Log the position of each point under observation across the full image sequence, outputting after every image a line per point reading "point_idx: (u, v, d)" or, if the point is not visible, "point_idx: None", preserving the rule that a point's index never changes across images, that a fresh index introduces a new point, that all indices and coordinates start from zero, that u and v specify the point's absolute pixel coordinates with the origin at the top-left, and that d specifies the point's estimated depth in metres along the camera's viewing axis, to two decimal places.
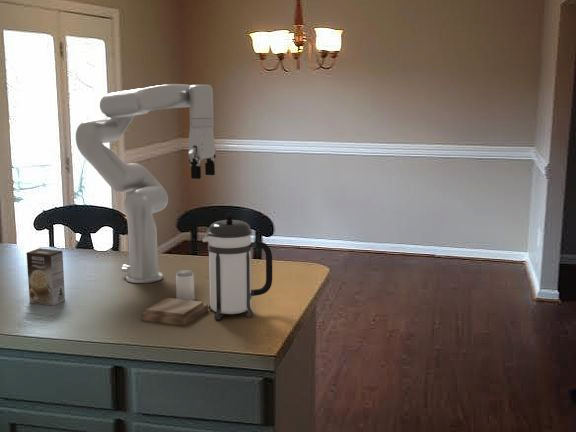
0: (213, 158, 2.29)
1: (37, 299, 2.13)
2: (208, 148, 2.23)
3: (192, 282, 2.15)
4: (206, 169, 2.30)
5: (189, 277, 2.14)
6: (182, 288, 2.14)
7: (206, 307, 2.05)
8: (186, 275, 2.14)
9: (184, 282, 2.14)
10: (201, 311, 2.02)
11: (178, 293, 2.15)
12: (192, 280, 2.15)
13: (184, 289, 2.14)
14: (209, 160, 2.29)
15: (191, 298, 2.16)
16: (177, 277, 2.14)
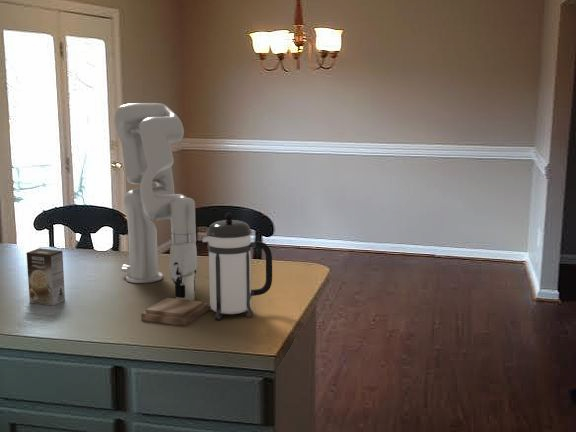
0: None
1: (37, 299, 2.13)
2: (190, 263, 2.14)
3: (192, 282, 2.15)
4: None
5: (189, 277, 2.14)
6: None
7: (206, 307, 2.05)
8: (186, 275, 2.14)
9: (184, 282, 2.14)
10: (201, 311, 2.02)
11: None
12: (192, 280, 2.15)
13: None
14: None
15: (191, 298, 2.16)
16: None
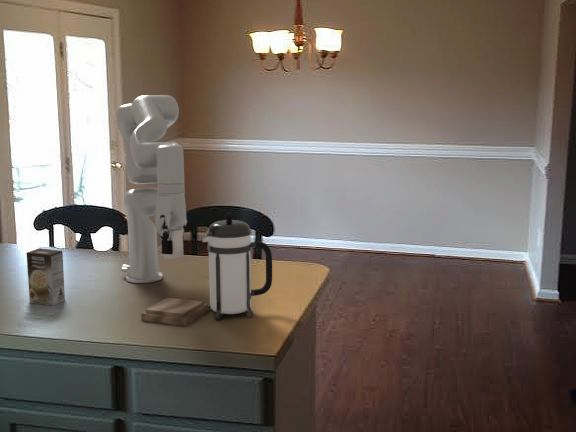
0: None
1: (37, 299, 2.13)
2: (178, 217, 1.95)
3: (181, 237, 1.97)
4: None
5: (177, 232, 1.95)
6: None
7: (206, 307, 2.05)
8: (174, 229, 1.95)
9: (172, 237, 1.95)
10: (201, 311, 2.02)
11: None
12: (181, 235, 1.96)
13: None
14: None
15: (180, 255, 1.97)
16: None
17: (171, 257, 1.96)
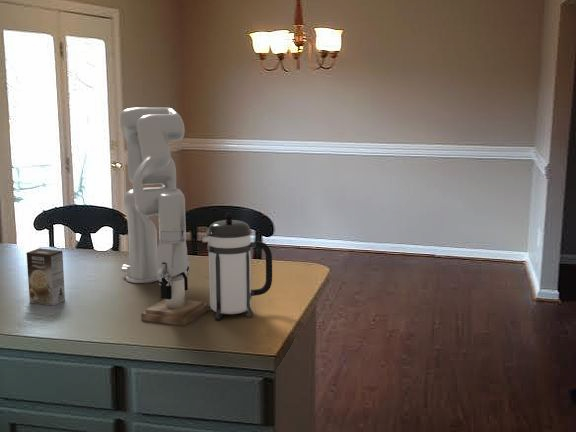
0: (186, 272, 2.04)
1: (37, 299, 2.13)
2: (180, 263, 1.98)
3: (182, 287, 1.99)
4: None
5: (179, 282, 1.98)
6: None
7: (206, 307, 2.05)
8: (176, 279, 1.98)
9: (174, 287, 1.98)
10: (201, 311, 2.02)
11: (167, 299, 1.99)
12: (182, 285, 1.99)
13: (173, 294, 1.98)
14: (181, 273, 2.04)
15: (181, 304, 2.00)
16: None
17: (173, 306, 1.99)
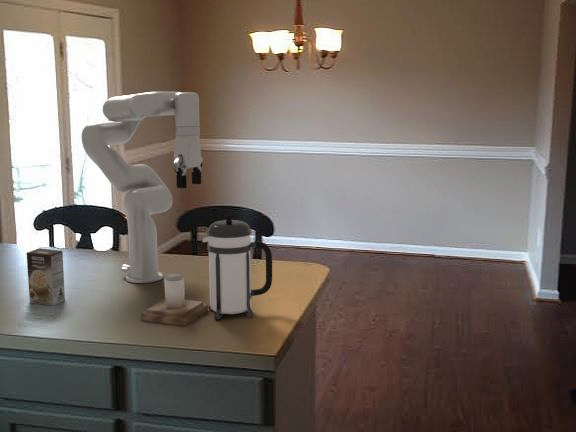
0: (200, 167, 2.25)
1: (37, 299, 2.13)
2: (194, 157, 2.19)
3: (182, 287, 1.99)
4: (192, 178, 2.26)
5: (178, 282, 1.98)
6: (171, 293, 1.98)
7: (206, 307, 2.05)
8: (175, 279, 1.98)
9: (173, 287, 1.98)
10: (201, 311, 2.02)
11: (167, 299, 1.99)
12: (182, 285, 1.99)
13: (173, 294, 1.98)
14: (196, 169, 2.25)
15: (181, 304, 2.00)
16: (166, 281, 1.98)
17: (172, 306, 1.99)
